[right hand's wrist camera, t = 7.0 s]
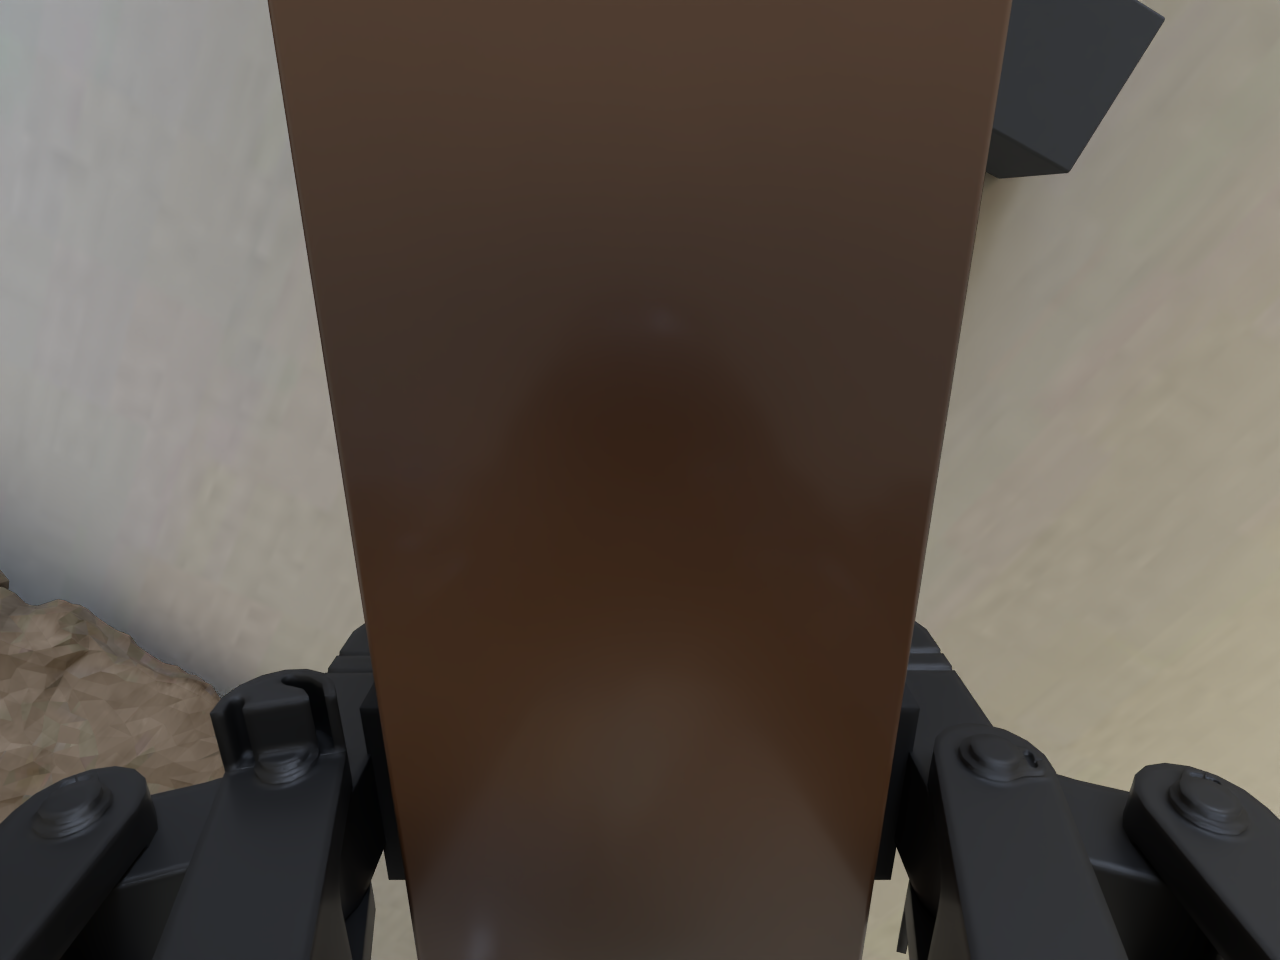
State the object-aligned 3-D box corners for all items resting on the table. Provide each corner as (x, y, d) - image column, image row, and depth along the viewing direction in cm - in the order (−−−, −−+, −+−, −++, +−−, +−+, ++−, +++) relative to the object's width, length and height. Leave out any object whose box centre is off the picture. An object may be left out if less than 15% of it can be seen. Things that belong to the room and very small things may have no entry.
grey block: (999, 179, 23) (1069, 174, 19) (893, 121, 22) (944, 103, 19) (1076, 50, 22) (1167, 17, 18) (966, -16, 21) (1037, -64, 17)
